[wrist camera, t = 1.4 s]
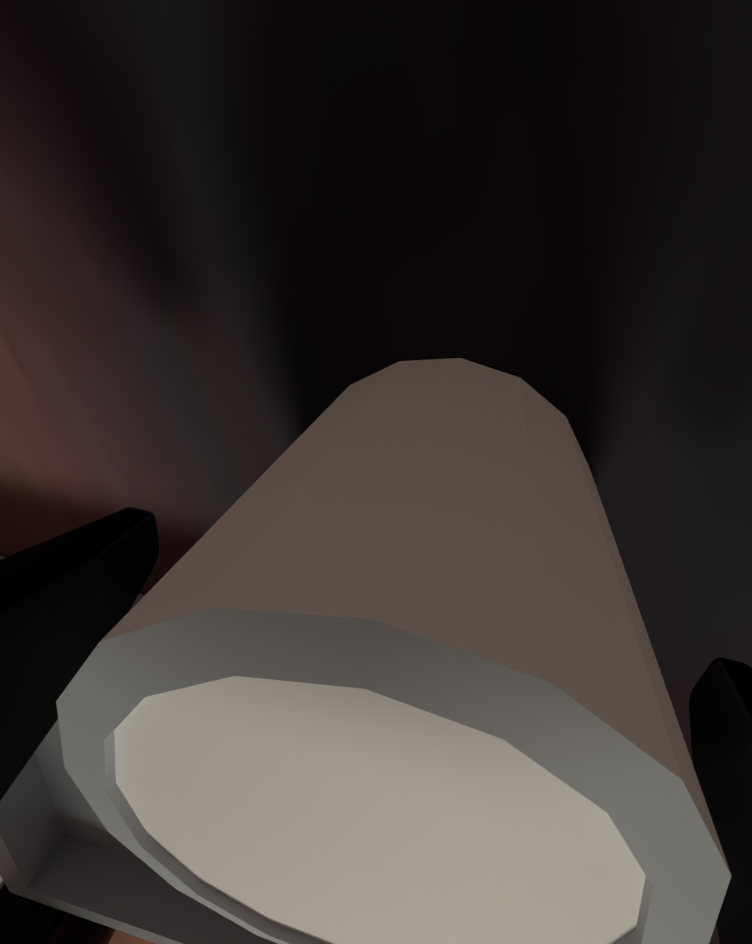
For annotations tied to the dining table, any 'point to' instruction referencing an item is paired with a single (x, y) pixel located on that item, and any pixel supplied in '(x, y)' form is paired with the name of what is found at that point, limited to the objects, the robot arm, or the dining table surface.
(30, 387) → the dining table surface
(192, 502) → the dining table surface
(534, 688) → the white cup
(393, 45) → the dining table surface
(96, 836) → the tray
